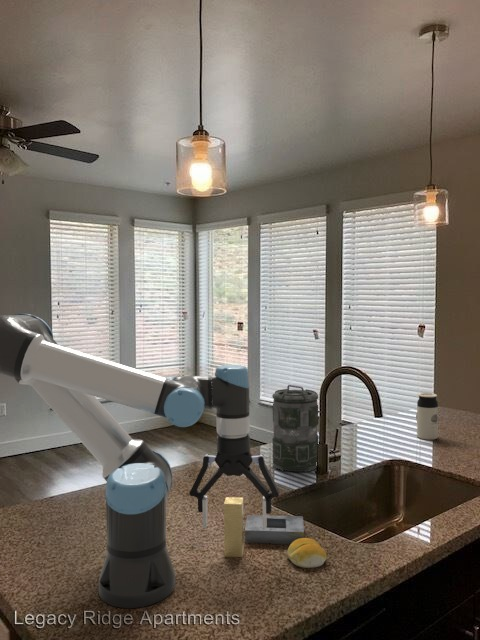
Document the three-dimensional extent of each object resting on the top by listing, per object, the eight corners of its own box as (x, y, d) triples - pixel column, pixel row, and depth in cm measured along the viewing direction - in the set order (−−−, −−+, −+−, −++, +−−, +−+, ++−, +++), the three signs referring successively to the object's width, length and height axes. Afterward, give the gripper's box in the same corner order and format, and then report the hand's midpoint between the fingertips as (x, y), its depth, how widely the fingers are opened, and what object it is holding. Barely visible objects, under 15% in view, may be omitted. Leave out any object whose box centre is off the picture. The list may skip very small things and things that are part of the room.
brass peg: (242, 557, 119) (241, 504, 118) (224, 556, 119) (224, 503, 119) (243, 548, 123) (243, 497, 122) (226, 548, 123) (226, 497, 123)
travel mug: (413, 436, 222) (413, 393, 221) (429, 434, 224) (429, 392, 224) (425, 440, 215) (425, 396, 214) (441, 439, 217) (442, 395, 216)
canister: (263, 465, 184) (262, 385, 183) (294, 456, 195) (293, 380, 194) (296, 476, 172) (296, 391, 171) (328, 466, 183) (327, 385, 182)
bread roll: (316, 547, 124) (316, 531, 123) (331, 566, 115) (331, 548, 115) (282, 551, 122) (282, 534, 122) (294, 571, 113) (294, 552, 113)
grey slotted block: (304, 544, 125) (304, 532, 125) (244, 542, 126) (244, 530, 126) (302, 528, 134) (302, 516, 134) (247, 526, 135) (247, 514, 135)
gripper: (288, 430, 123) (289, 520, 123) (182, 429, 125) (184, 518, 126) (288, 438, 115) (290, 534, 116) (175, 438, 117) (177, 532, 118)
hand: (235, 526), depth 121 cm, fingers open, 13 cm apart
